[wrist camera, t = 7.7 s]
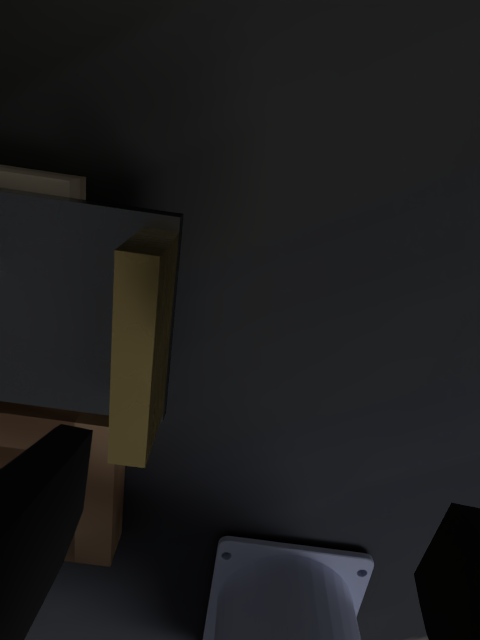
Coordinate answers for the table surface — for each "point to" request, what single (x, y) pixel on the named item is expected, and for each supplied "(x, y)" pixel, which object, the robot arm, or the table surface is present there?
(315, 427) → the table surface
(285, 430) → the table surface
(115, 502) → the frame
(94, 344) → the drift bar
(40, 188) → the socket board
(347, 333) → the table surface
